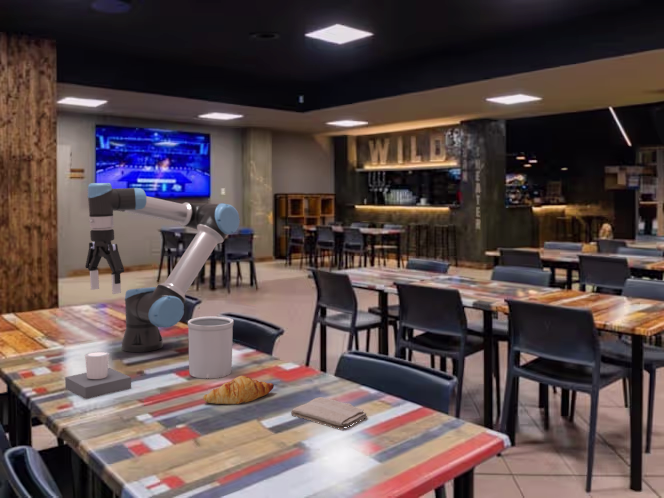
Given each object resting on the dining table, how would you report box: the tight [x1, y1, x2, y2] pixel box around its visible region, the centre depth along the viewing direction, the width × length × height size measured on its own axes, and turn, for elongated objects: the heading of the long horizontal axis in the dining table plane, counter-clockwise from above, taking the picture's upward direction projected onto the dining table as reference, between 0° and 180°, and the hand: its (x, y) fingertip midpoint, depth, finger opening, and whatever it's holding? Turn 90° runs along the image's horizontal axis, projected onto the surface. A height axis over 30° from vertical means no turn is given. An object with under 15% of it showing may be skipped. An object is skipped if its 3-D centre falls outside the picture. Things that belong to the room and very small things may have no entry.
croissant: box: [202, 375, 275, 405], centre depth 173 cm, size 21×10×8 cm, turn 119°
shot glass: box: [84, 351, 110, 379], centre depth 182 cm, size 7×7×7 cm
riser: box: [64, 367, 132, 400], centre depth 182 cm, size 14×14×4 cm
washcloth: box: [290, 396, 368, 430], centre depth 160 cm, size 12×18×3 cm, turn 54°
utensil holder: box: [187, 315, 235, 379], centre depth 198 cm, size 15×15×18 cm
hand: (105, 291), depth 205 cm, fingers open, 13 cm apart
